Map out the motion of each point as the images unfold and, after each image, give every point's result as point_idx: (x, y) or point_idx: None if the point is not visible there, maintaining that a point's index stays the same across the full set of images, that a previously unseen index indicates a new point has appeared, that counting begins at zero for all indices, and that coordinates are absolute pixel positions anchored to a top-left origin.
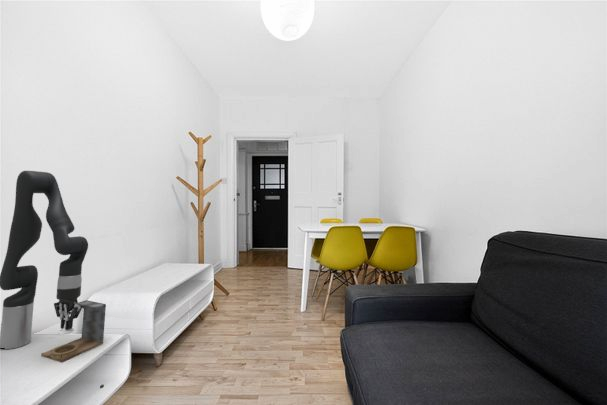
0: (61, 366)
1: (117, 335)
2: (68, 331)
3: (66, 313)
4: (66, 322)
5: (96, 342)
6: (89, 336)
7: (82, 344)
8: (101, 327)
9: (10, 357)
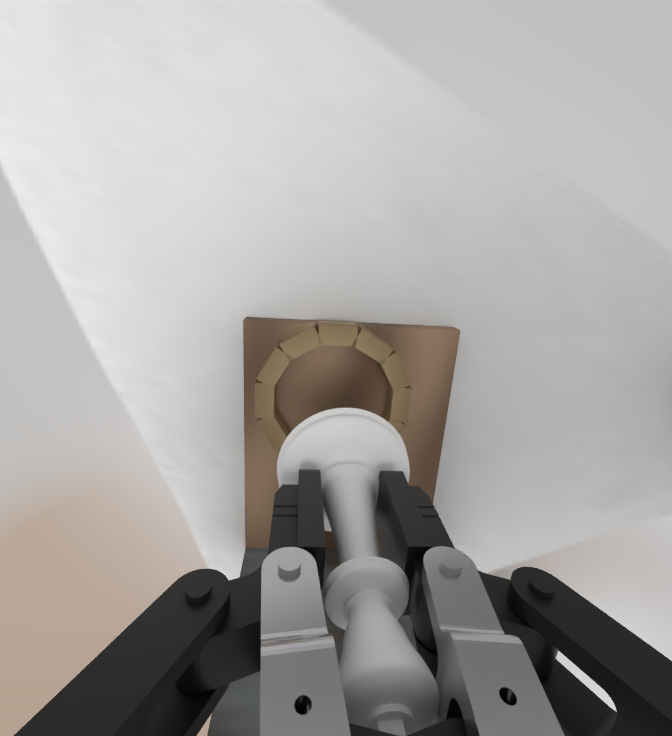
0: (199, 284)
1: None
2: (288, 469)
3: (264, 675)
4: (305, 529)
5: None
6: None
7: None
8: None
9: (625, 252)
